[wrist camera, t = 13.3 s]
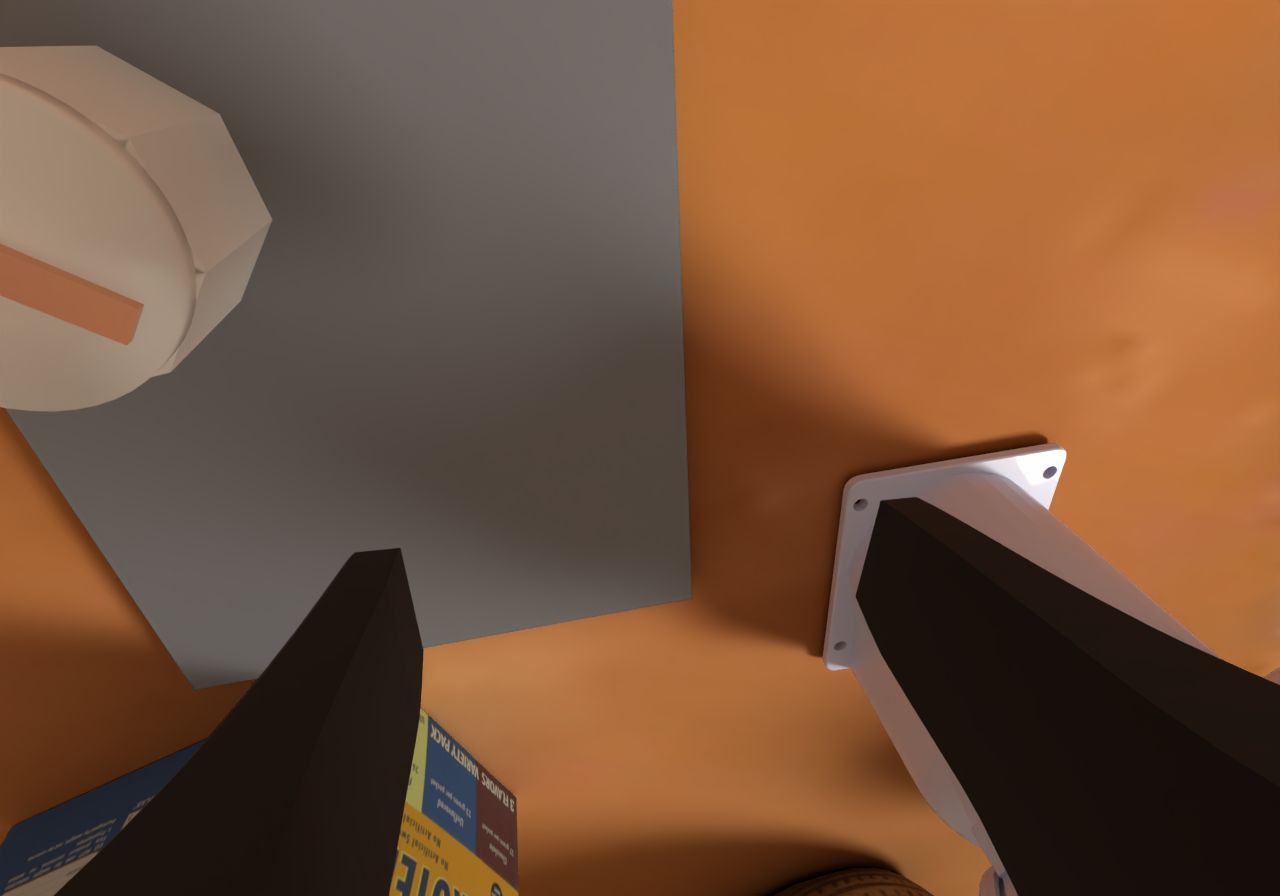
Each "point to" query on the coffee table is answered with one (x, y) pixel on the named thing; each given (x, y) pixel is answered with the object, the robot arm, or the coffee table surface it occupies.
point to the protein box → (427, 848)
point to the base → (405, 323)
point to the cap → (111, 226)
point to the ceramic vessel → (857, 884)
